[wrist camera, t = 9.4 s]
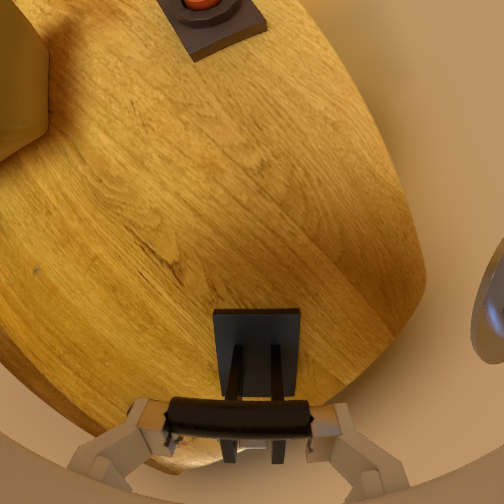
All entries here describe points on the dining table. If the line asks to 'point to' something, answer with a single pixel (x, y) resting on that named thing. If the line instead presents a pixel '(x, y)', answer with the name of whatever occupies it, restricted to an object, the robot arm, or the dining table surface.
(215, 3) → the button
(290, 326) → the bracket
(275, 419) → the lever
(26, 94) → the flower pot
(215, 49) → the button block
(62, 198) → the dining table surface
